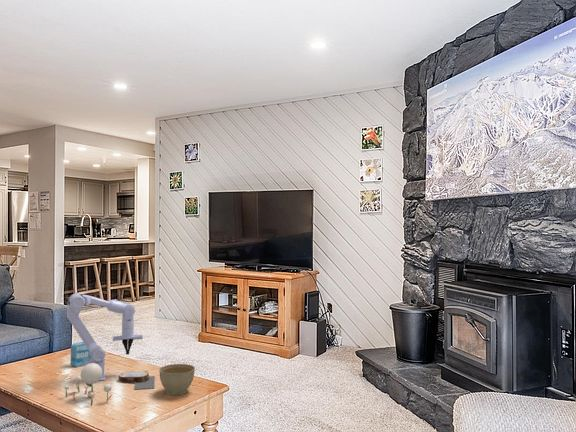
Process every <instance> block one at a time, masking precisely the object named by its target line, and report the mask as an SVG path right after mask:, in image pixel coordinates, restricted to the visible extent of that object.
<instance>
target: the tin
mask: <svg viewBox="0 0 576 432" xmlns="http://www.w3.org/2000/svg"><path fill="white" fill-rule="evenodd" d="M149 376H150V374H149V373H148V372H147V371H127V372H121V374H119V375H118V382H119V383H135V382H144V381H147V380H148V379H149Z"/></svg>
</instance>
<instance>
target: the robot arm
mask: <svg viewBox="0 0 576 432" xmlns="http://www.w3.org/2000/svg"><path fill="white" fill-rule="evenodd" d="M66 303H67V307H66V317H67V319H68V321H69V322H70V324H71V325H72V326H73V328H74V329H75V331H76V333H77V334H78V336H79V338H81V340H82V342H84V343H85V345H86V346H87V348H88V350H89V355H90V356H91V358H90V360H89V361H86V362H85V364H84V366H86V365H87V364H90V363H96V364H98V365H99V366H100V367H101V369H102V377H101V378H100V380H99V381H105V379H106V376H107V375H106V374H105V360H106V359H105V357H106V352H105V351H104V349H103V348H102V347H101V346H100V345H98V343H97V342H96V341H95V339H94V338H93V336H92V334H91V333H90V332H89V330H88V328H87V327H86V325H85V324H84V323H83V321H82V319H81V318H80V312H81V310H82V309H83V308H84V306H85V307H86V306H87V307H88V306H89V305H95V306H99V307H103V308H106V309H107V311H109V312H113V313H117V314H121V315H122V316H121V335H117V336H116V335H115V336H112V342H116V341H117V342H118V341H122V345H123V347H124V349H125V354H126V355H130V351H131V348H132V345H133V342H134V340H143V337H144V336H143V334H135V333H134V332H135V331H134V330H135V329H134V328H135V327H134V326H135V323H134V322H135V318H134V315H135V312H136V308H135V306H133V305H132V304H131V303H129V302H127V301H123V302H122V301H118V299H116V298H114V299H110V300H105V299H102V298H99V297H96V296H93V295H87V294H79V293H73V294H71V295H70V296H69V298H68V300H67V302H66ZM84 366H83V367H84ZM99 381H98V382H99Z"/></svg>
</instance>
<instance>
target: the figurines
mask: <svg viewBox="0 0 576 432" xmlns="http://www.w3.org/2000/svg"><path fill="white" fill-rule="evenodd" d="M82 367H83V368H82V369H81V371H80V375H77V376H76V377H75V379H74V380H75V381H74V382H75V387H76V389H77V392H78V393H80V392H81V391H80V384H81V383H82V382H83V383H85V384H86V386H84V387H83V388H85V391H84V394H85V395H86V394H87V397H88V398H90V406H91V407H92V406H93V403H94V397H95V396H96V393H95V391H94V384H96V383H98V382H99V380H100V378H101V377H102V369H101V367H100V366H99V365H98V364H96V363H90V364H87V365H86V366H82ZM100 381H101V380H100ZM88 388H90V389H91V390H88ZM64 389H65V397H66V398H68V390H69V389H70V386H69V385H65V386H64ZM111 390H112V385H111V384H110V383H106V384H105V385H103V391H104V392H106V393H107V395H106V400H105V401H106V403H108V402H109V400H110V398H111V397H112V395H113V394H110V396H109V392H111ZM72 394H73V397H72V400H73V401H75V400H76V392H75V391H73V393H72Z"/></svg>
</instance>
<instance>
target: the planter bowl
mask: <svg viewBox="0 0 576 432" xmlns="http://www.w3.org/2000/svg"><path fill="white" fill-rule="evenodd" d="M158 371H159V379H160V383H161V385H162V387H163V388H164V389H165V393H166V394H167V395H171V396H177V395H178V396H180V395H184V394H186V393H187V392H188V389H189V388H190V386H191V385H192V383H193V382H194V381H193V380H194V377H195V371H196V367H195V366H194V365H191V364H187V363H173V364H167V365H164V366H161V367H160V368H159V370H158Z"/></svg>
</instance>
